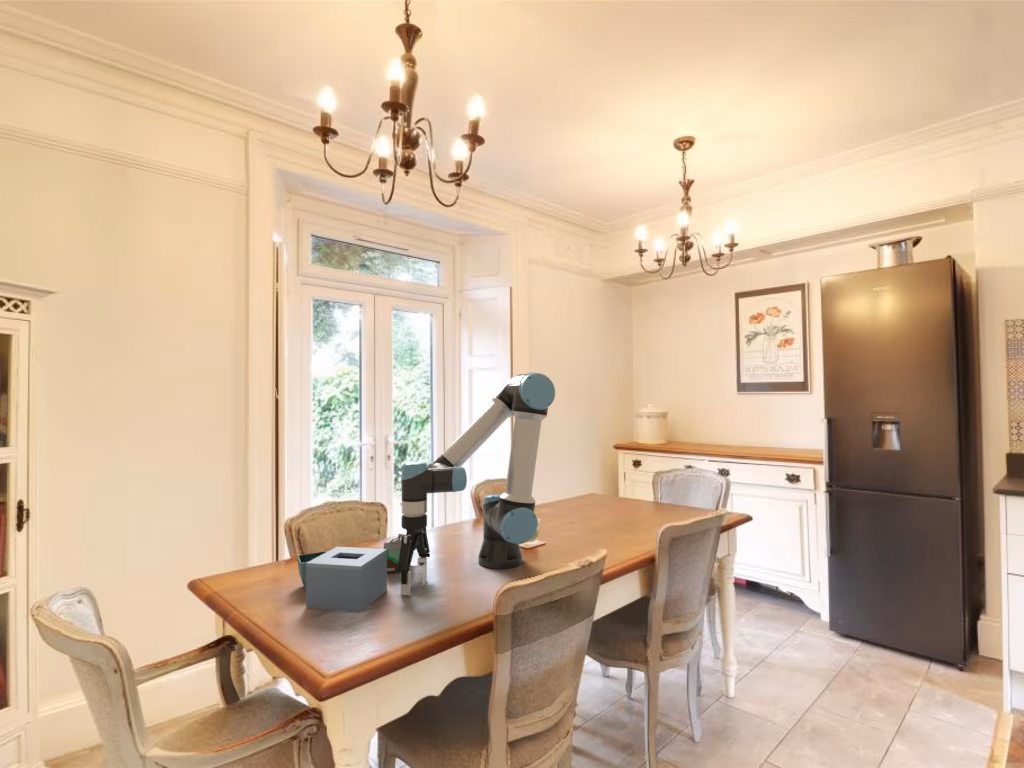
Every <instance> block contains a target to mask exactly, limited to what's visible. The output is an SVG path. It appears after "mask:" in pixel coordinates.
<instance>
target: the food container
mask: <svg viewBox="0 0 1024 768" xmlns="http://www.w3.org/2000/svg"><path fill="white" fill-rule="evenodd" d="M402 536H406V534H403V533H398V537H397V536H396V538H393V539H391V540H389V542H384V543H383V549H387V574H396V573H398V572H397V567H398V561H399V555H400V549H401V537H402Z"/></svg>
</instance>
